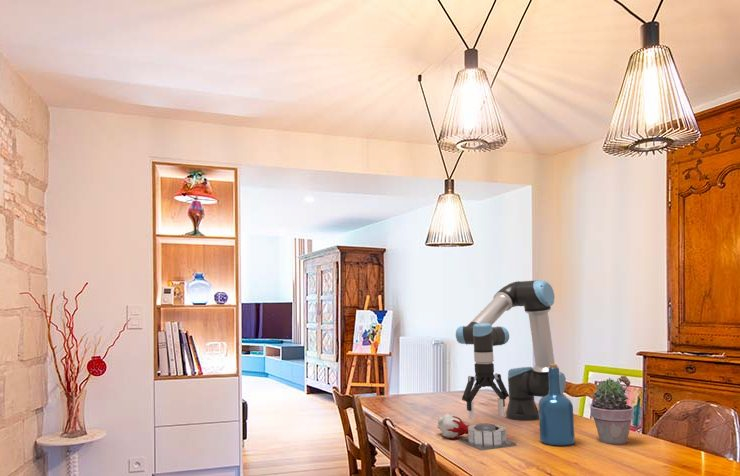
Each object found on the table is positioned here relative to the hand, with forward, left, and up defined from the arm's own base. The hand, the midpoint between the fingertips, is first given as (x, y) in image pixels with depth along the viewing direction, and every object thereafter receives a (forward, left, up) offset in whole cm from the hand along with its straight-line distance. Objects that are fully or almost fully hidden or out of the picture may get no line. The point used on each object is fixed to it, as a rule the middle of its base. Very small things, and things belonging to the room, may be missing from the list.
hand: (486, 417), depth 224 cm
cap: (+1, 0, -9) cm, 9 cm away
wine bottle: (-25, +11, -10) cm, 29 cm away
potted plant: (-44, +19, -10) cm, 49 cm away
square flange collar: (0, 0, -10) cm, 10 cm away
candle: (+7, -14, -10) cm, 19 cm away
